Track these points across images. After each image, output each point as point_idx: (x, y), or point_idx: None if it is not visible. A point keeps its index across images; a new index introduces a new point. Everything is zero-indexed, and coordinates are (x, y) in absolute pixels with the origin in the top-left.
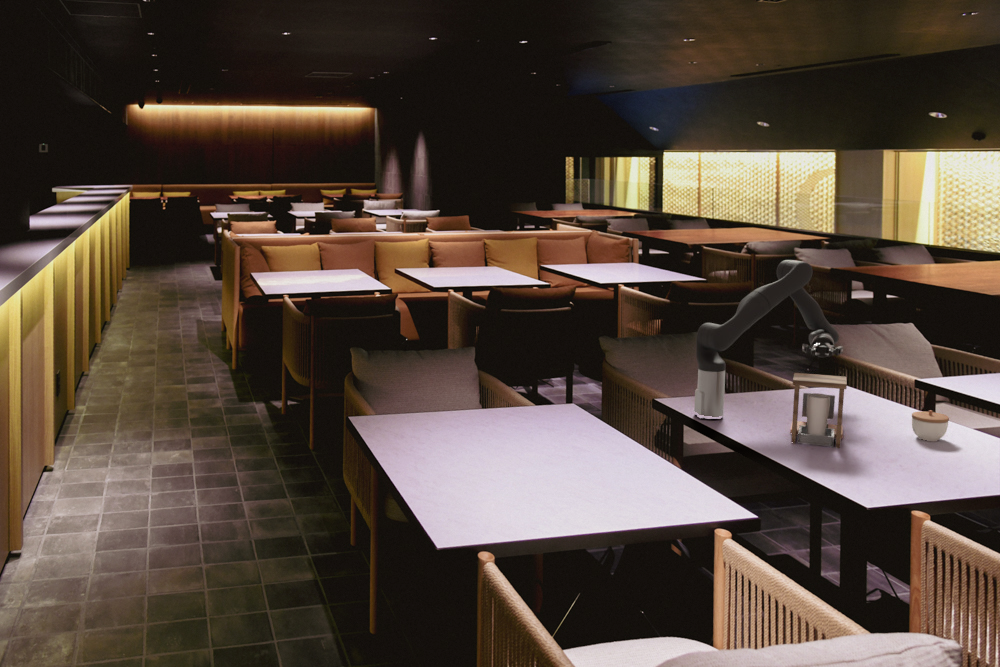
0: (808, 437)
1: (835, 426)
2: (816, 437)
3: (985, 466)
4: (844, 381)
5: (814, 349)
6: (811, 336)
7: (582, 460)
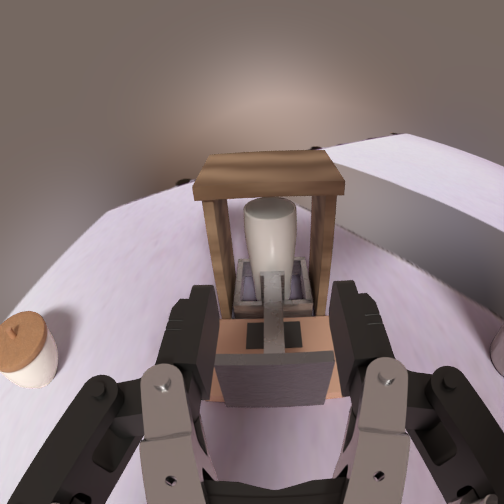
0: None
1: None
2: None
3: (53, 269)
4: (209, 162)
5: (344, 283)
6: None
7: (460, 184)
